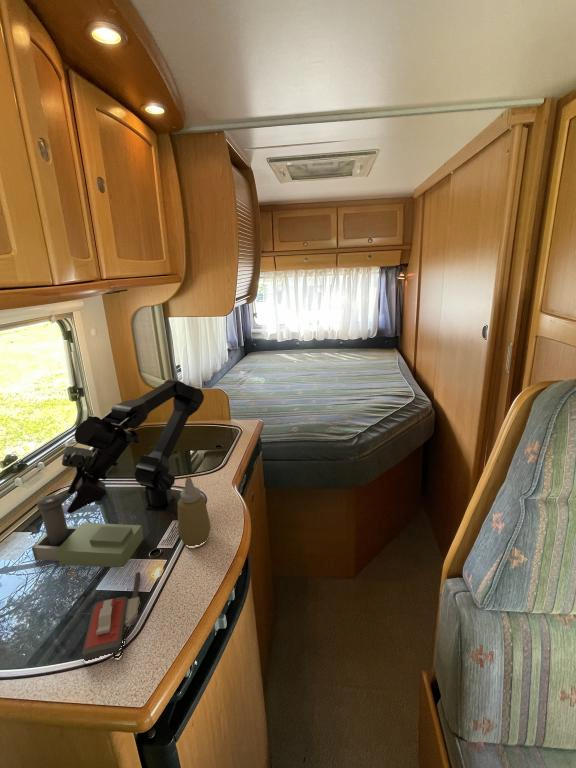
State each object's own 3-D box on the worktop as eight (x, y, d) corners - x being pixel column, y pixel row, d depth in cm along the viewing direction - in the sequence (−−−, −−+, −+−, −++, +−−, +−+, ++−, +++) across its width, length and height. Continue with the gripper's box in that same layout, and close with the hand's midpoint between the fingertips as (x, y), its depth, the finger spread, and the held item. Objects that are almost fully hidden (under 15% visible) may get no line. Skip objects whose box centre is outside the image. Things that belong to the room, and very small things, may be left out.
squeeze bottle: (192, 557, 91) (183, 492, 86) (173, 542, 96) (164, 480, 91) (218, 539, 97) (212, 477, 92) (199, 526, 102) (192, 466, 97)
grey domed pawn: (77, 541, 98) (66, 494, 93) (64, 556, 93) (52, 507, 88) (58, 540, 98) (47, 493, 94) (44, 555, 93) (31, 506, 89)
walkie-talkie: (134, 660, 68) (144, 576, 86) (130, 642, 67) (141, 560, 85) (80, 675, 66) (102, 585, 84) (75, 656, 64) (98, 569, 83)
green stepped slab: (143, 538, 98) (140, 521, 96) (123, 567, 89) (120, 549, 87) (59, 534, 101) (55, 517, 99) (31, 562, 91) (26, 544, 89)
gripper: (79, 422, 99) (39, 471, 97) (80, 451, 83) (32, 510, 82) (117, 442, 105) (80, 488, 103) (124, 473, 89) (81, 528, 88)
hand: (69, 502), depth 94 cm, fingers open, 9 cm apart
